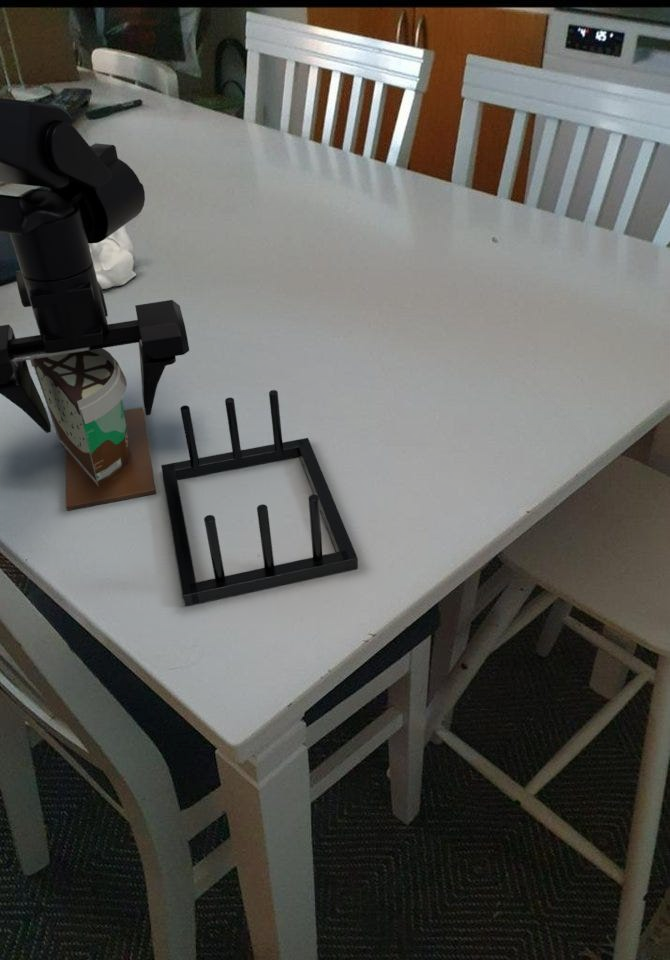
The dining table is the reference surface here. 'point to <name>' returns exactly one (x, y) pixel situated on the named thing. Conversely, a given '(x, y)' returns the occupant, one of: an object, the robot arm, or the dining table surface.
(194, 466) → the drying rack
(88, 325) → the robot arm
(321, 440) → the dining table surface
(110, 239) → the white sculpted figure
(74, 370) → the food container
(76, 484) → the walnut board
